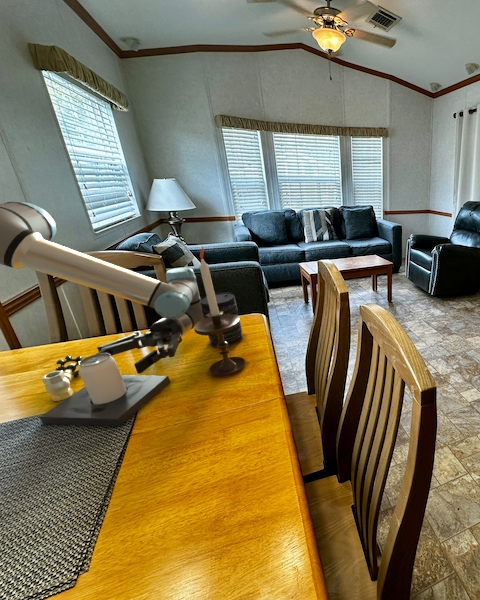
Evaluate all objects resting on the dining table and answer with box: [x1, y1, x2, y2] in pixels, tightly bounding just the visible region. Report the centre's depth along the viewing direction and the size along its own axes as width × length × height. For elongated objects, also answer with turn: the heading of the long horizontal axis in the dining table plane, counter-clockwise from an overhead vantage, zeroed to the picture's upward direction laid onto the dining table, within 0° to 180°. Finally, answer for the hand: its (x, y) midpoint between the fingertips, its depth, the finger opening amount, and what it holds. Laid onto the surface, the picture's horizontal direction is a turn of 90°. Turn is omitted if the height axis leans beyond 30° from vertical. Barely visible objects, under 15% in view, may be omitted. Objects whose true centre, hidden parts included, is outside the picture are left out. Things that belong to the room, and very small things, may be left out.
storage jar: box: [200, 292, 244, 348], centre depth 105 cm, size 10×10×15 cm
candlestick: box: [193, 246, 246, 378], centre depth 86 cm, size 11×11×35 cm
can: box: [78, 353, 127, 404], centre depth 78 cm, size 6×6×12 cm
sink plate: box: [39, 374, 171, 427], centre depth 80 cm, size 18×16×2 cm
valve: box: [41, 354, 83, 402], centre depth 83 cm, size 7×7×12 cm
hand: (110, 368), depth 79 cm, fingers open, 13 cm apart
